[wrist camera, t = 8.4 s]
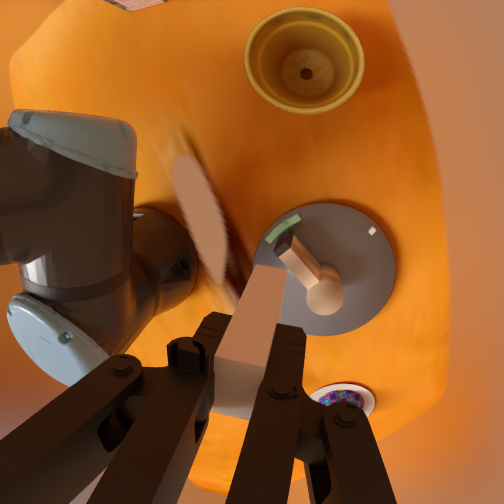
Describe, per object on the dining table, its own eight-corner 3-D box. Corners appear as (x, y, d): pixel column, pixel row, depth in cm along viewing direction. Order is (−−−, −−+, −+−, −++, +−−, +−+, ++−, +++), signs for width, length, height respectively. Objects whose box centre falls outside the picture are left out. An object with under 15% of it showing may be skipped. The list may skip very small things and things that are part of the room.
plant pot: (298, 135, 34) (292, 137, 25) (244, 67, 32) (219, 49, 23) (371, 87, 30) (389, 74, 21) (315, 19, 28) (313, -14, 19)
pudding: (297, 388, 49) (294, 411, 44) (369, 373, 45) (372, 397, 40) (315, 428, 52) (313, 450, 47) (378, 416, 48) (380, 438, 43)
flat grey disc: (325, 350, 44) (325, 358, 42) (227, 274, 43) (223, 281, 41) (419, 267, 37) (424, 274, 35) (318, 170, 35) (318, 173, 33)
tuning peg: (347, 281, 37) (350, 302, 33) (321, 298, 39) (320, 321, 34) (297, 221, 36) (293, 235, 31) (271, 242, 38) (264, 259, 33)
